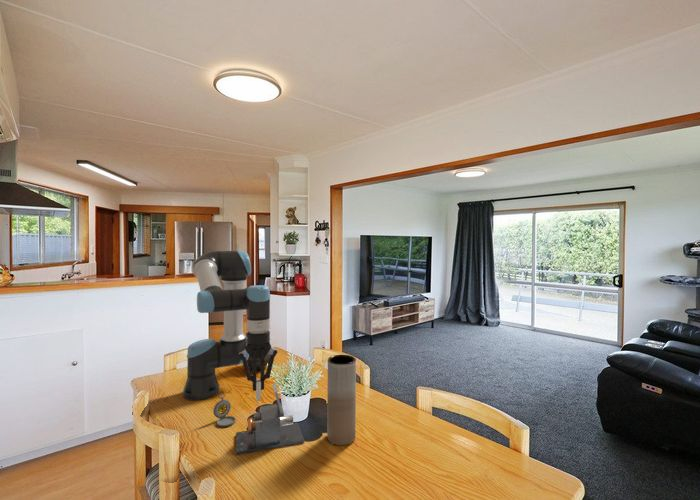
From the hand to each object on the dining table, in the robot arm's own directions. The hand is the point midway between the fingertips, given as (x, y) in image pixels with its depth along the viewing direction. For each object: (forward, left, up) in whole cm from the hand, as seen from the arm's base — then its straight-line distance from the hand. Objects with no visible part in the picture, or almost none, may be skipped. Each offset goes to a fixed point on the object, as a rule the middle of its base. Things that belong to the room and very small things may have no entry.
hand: (258, 399), depth 116 cm
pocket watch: (-17, -11, -15) cm, 25 cm away
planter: (+7, +28, -15) cm, 32 cm away
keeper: (0, +8, -5) cm, 9 cm away
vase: (-72, +4, -15) cm, 74 cm away
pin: (0, +4, -12) cm, 12 cm away
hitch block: (0, +3, -15) cm, 15 cm away
